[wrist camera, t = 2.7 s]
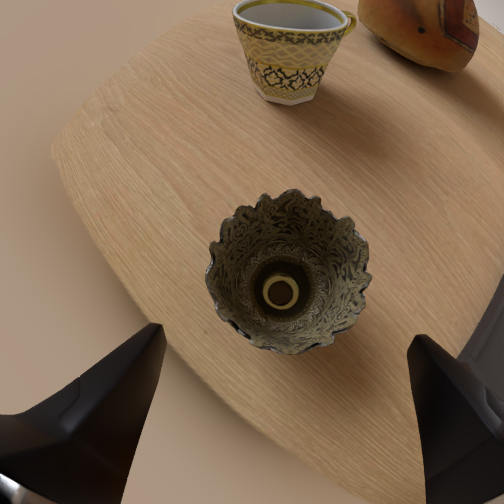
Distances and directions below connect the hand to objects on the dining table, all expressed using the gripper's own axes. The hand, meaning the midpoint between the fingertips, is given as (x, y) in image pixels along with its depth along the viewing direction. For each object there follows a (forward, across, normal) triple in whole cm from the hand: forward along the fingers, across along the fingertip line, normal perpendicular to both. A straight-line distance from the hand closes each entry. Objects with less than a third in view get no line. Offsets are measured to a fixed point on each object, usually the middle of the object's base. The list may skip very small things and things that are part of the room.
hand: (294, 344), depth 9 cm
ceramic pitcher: (+38, -21, -23) cm, 49 cm away
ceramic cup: (+26, -1, -11) cm, 28 cm away
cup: (+10, 0, +5) cm, 11 cm away
